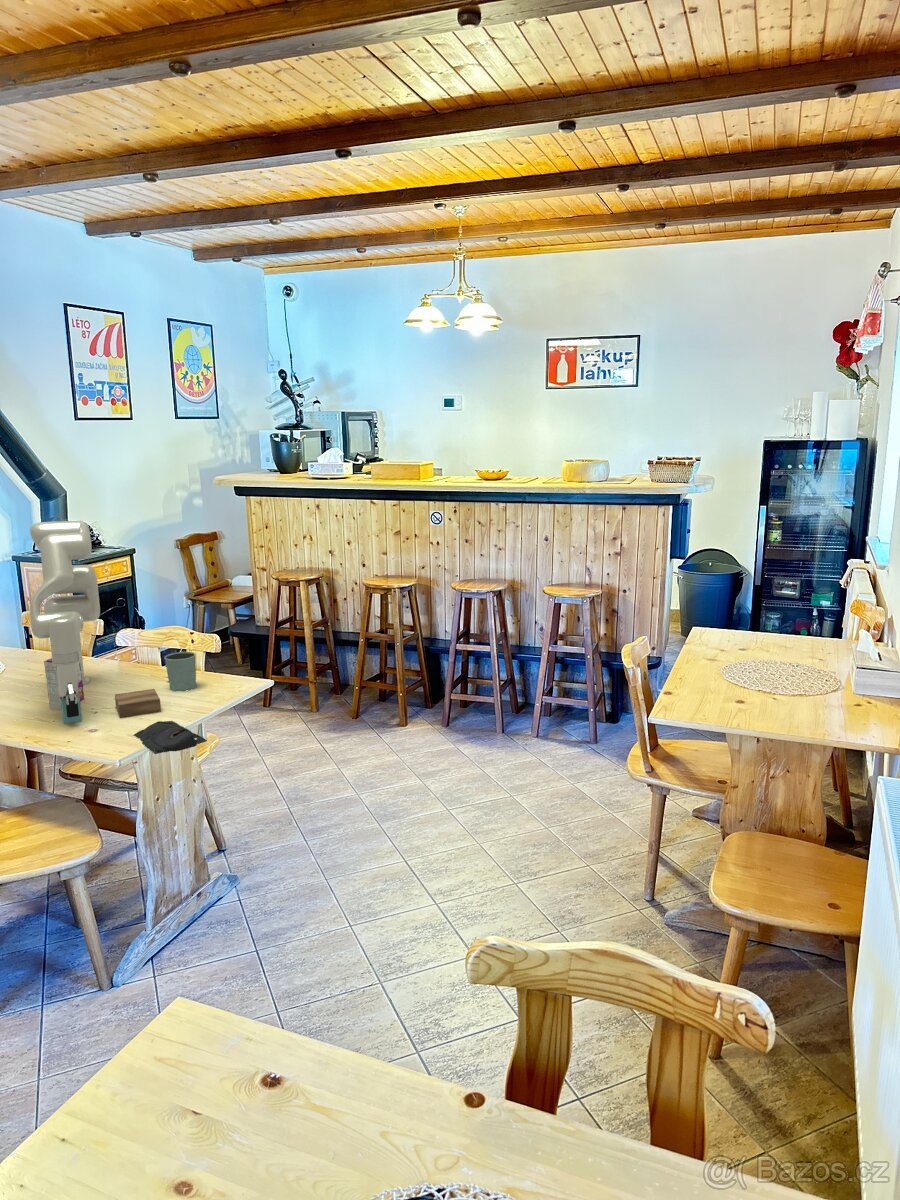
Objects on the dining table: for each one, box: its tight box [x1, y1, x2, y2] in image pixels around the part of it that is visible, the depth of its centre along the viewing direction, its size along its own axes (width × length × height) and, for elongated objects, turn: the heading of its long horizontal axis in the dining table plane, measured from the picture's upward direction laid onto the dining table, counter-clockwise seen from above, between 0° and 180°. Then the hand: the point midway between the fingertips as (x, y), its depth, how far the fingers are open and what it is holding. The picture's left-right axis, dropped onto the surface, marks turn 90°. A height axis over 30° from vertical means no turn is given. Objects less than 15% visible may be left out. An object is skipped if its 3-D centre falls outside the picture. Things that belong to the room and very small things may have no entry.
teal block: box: [61, 696, 83, 725], centre depth 242 cm, size 5×5×7 cm
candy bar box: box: [43, 657, 85, 711], centre depth 257 cm, size 11×5×16 cm, turn 168°
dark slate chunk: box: [132, 720, 208, 755], centre depth 227 cm, size 15×22×5 cm
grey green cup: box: [164, 651, 197, 692], centre depth 273 cm, size 10×10×12 cm
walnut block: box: [114, 688, 162, 719], centre depth 252 cm, size 12×12×5 cm
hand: (71, 712), depth 242 cm, fingers open, 9 cm apart
